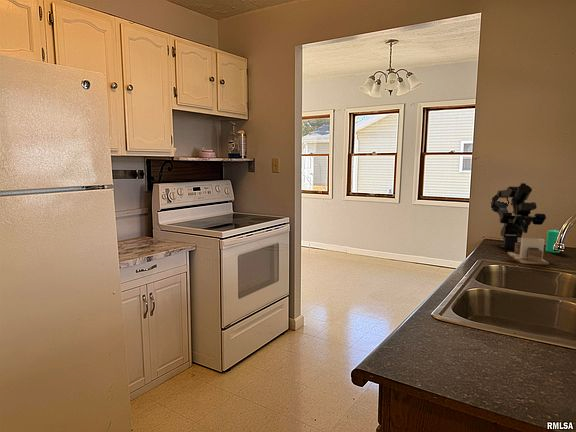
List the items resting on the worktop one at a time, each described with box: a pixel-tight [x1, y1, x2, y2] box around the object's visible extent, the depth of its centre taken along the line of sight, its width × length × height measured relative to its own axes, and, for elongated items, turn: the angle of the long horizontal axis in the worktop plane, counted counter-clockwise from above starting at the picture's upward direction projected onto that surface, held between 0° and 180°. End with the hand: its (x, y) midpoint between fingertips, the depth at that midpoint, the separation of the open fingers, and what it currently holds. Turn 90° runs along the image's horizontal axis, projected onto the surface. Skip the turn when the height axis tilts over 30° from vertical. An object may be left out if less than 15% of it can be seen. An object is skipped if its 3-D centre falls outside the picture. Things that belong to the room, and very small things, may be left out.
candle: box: [545, 229, 561, 254], centre depth 198 cm, size 6×6×12 cm
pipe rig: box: [507, 242, 550, 266], centre depth 182 cm, size 18×11×6 cm, turn 169°
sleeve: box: [520, 237, 545, 260], centre depth 177 cm, size 3×9×9 cm, turn 79°
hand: (526, 232), depth 184 cm, fingers closed
